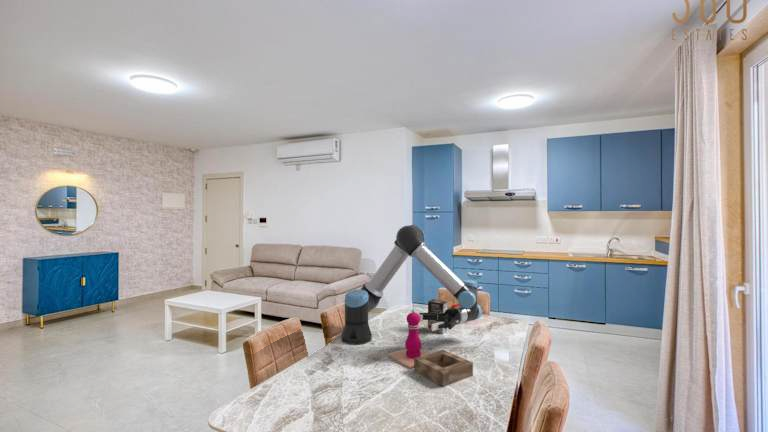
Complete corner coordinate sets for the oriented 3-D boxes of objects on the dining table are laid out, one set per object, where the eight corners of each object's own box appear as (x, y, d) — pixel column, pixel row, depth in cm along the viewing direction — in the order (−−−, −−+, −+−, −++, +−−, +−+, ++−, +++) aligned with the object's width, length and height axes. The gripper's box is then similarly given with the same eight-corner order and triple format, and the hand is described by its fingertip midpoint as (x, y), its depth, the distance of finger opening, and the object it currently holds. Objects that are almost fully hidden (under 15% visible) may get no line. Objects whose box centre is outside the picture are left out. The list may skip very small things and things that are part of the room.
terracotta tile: (387, 356, 154) (387, 353, 154) (415, 348, 163) (415, 346, 163) (410, 369, 140) (410, 366, 140) (439, 359, 150) (439, 357, 150)
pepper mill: (420, 359, 147) (421, 312, 147) (403, 358, 149) (404, 311, 149) (422, 353, 154) (422, 307, 154) (406, 351, 156) (406, 306, 156)
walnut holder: (414, 370, 139) (414, 358, 139) (442, 361, 148) (443, 349, 148) (443, 387, 126) (443, 373, 126) (472, 375, 135) (472, 362, 135)
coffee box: (427, 331, 187) (427, 301, 188) (432, 328, 193) (432, 298, 193) (443, 334, 183) (443, 303, 183) (447, 331, 188) (447, 301, 188)
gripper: (476, 330, 156) (441, 340, 143) (436, 317, 176) (403, 325, 164) (476, 313, 156) (441, 322, 143) (436, 302, 176) (403, 308, 164)
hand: (421, 323), depth 154 cm, fingers open, 13 cm apart
